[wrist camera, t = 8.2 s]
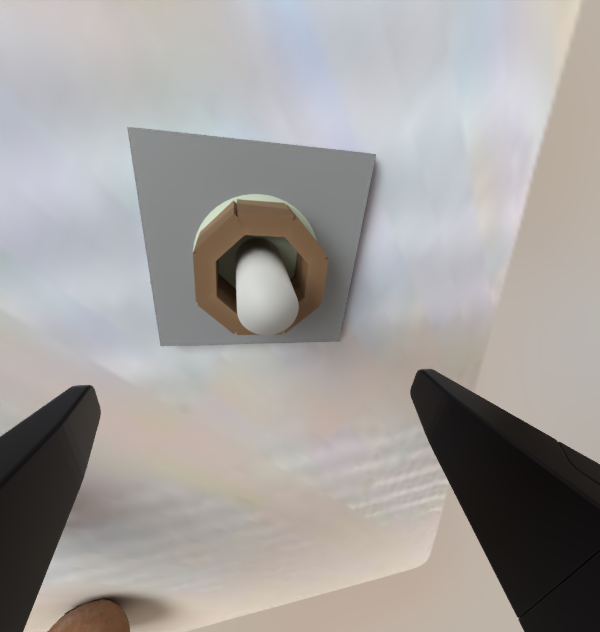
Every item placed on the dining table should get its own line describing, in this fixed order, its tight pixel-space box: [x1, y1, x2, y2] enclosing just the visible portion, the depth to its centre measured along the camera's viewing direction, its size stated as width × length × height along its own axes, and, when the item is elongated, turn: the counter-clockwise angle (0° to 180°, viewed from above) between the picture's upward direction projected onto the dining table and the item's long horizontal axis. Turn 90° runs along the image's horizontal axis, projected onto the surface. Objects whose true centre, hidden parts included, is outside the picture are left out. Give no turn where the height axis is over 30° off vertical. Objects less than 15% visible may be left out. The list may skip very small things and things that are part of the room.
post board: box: [127, 127, 376, 346], centre depth 16 cm, size 12×12×7 cm
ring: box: [193, 199, 329, 335], centre depth 17 cm, size 6×6×3 cm
